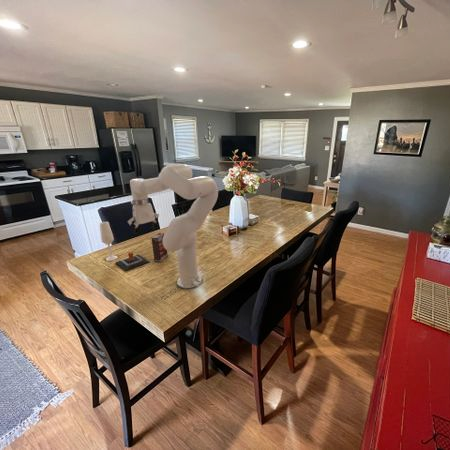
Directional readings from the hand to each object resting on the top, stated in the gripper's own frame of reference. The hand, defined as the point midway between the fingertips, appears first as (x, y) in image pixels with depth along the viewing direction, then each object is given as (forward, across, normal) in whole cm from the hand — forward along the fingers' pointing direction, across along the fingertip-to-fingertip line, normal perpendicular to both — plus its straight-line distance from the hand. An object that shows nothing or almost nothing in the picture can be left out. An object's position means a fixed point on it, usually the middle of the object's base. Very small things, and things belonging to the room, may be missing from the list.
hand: (146, 231), depth 134 cm
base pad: (+23, -5, +16) cm, 28 cm away
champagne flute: (+23, -11, +32) cm, 41 cm away
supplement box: (+23, +10, +8) cm, 27 cm away
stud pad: (+22, -5, +16) cm, 28 cm away
